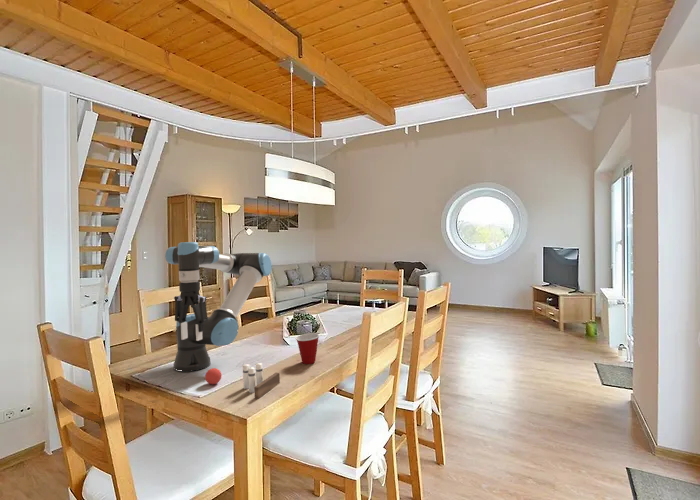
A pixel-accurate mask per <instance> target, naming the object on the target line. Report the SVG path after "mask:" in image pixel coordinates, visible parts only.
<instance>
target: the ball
mask: <svg viewBox="0 0 700 500" xmlns="http://www.w3.org/2000/svg"><path fill="white" fill-rule="evenodd" d="M204 377H205V378H204V379H205V382H206V383H207V384H209V385H216V384H218V383H220V381H221V379H222V372H221V371H220V369H218V368H213V367H212V368H210V369H208V370H207V372H205V375H204Z"/></svg>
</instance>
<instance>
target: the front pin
mask: <svg viewBox="0 0 700 500" xmlns="http://www.w3.org/2000/svg"><path fill="white" fill-rule="evenodd" d="M248 368H250V364H248V363H246V364H243V365H242V381H243V385H242V386H243V390H249V378H248Z"/></svg>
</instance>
